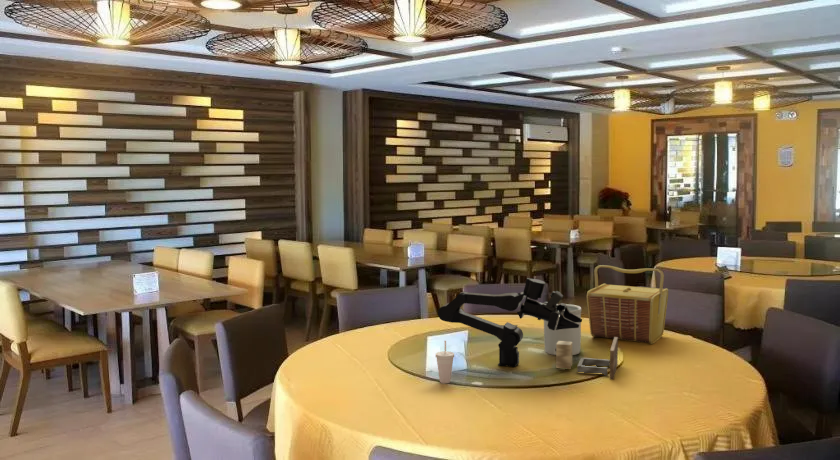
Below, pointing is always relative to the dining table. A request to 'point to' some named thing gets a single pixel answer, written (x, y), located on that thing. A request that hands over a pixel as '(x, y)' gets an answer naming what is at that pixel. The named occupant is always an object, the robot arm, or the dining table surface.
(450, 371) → the smoothie
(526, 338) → the dining table surface
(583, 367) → the grey frame stand
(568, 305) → the utensil holder
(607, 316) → the picnic basket
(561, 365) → the cabinet block
